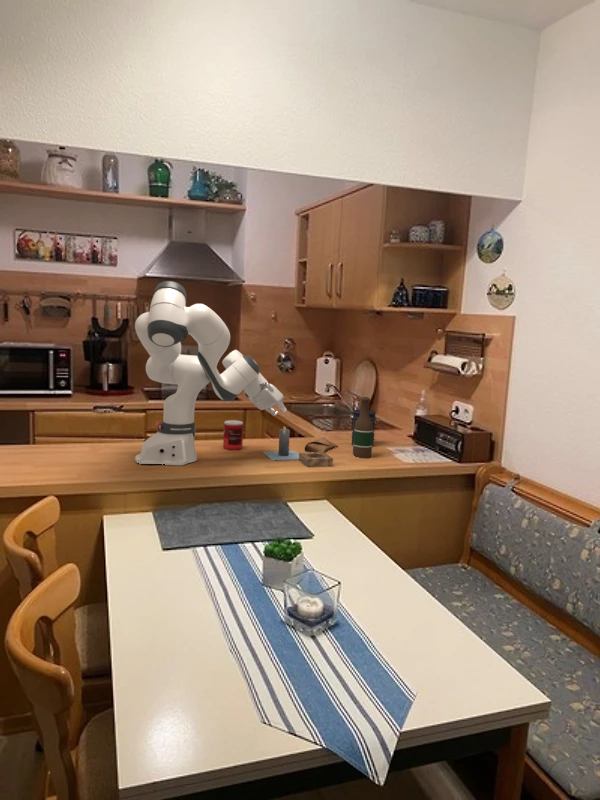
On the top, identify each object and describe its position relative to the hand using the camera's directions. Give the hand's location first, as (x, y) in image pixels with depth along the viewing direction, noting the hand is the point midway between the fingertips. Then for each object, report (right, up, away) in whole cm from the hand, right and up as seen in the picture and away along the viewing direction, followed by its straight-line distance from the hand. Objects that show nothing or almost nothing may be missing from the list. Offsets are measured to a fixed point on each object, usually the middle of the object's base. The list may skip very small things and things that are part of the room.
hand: (280, 413), depth 235 cm
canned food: (-20, -15, +15) cm, 29 cm away
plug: (+1, -17, +6) cm, 18 cm away
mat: (+1, -17, +6) cm, 18 cm away
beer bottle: (+32, -18, +13) cm, 39 cm away
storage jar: (+35, -15, +34) cm, 51 cm away
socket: (+13, -19, -3) cm, 23 cm away
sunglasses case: (+17, -16, +23) cm, 32 cm away
